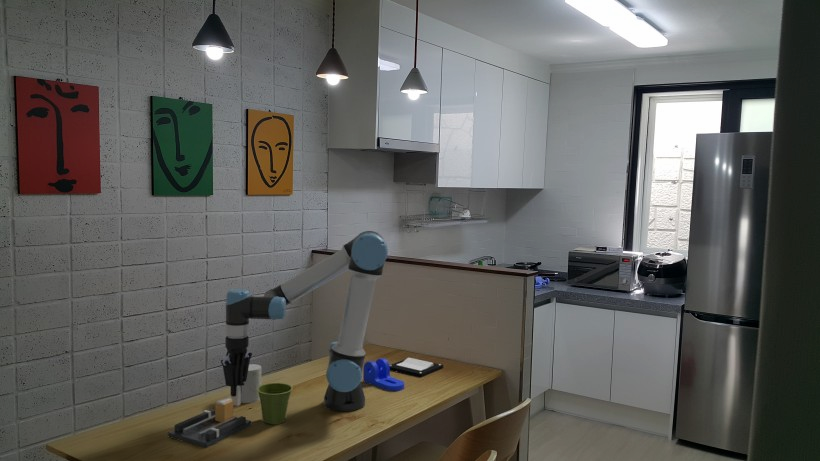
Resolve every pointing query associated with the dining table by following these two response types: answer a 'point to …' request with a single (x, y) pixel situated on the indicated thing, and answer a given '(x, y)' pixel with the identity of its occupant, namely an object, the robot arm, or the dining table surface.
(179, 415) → the dining table surface
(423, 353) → the dining table surface
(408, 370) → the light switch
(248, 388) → the white cylinder
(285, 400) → the plant pot
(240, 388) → the robot arm
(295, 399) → the dining table surface
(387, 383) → the bracket
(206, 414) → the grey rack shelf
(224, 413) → the orange white block
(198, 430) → the panel
